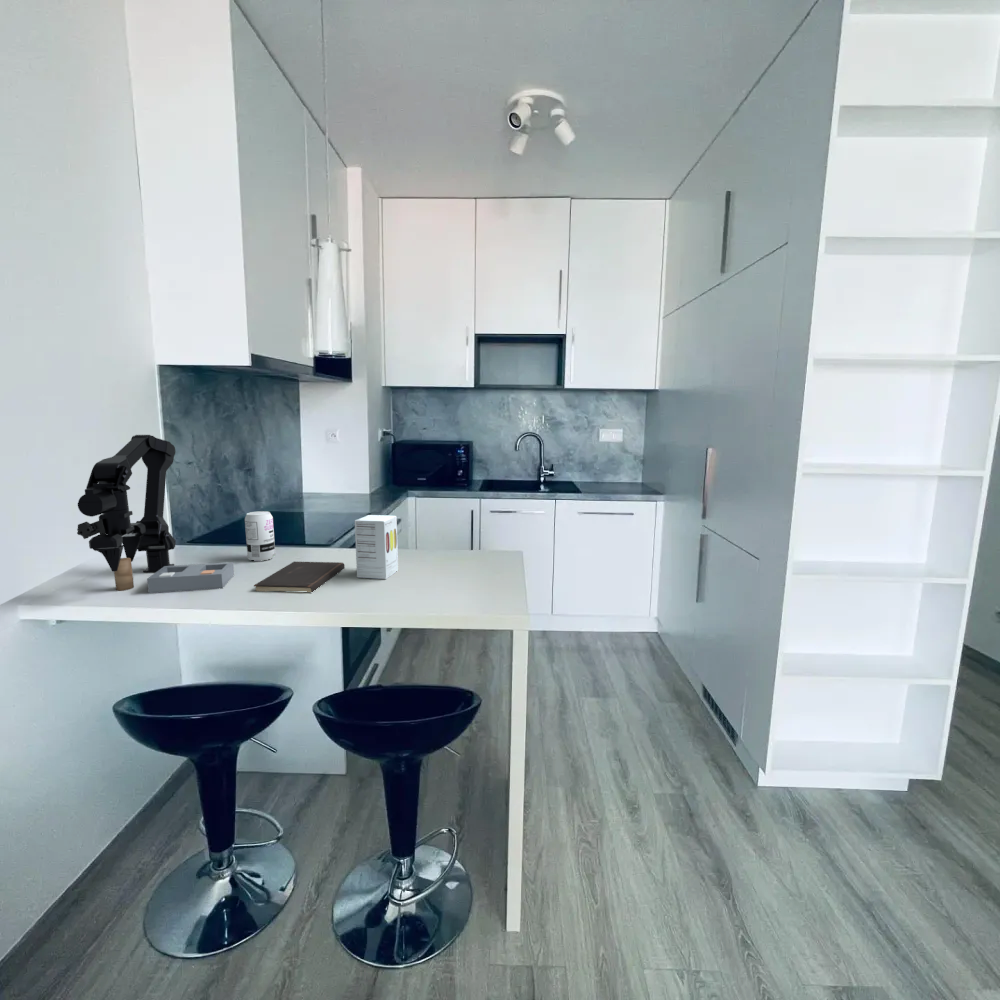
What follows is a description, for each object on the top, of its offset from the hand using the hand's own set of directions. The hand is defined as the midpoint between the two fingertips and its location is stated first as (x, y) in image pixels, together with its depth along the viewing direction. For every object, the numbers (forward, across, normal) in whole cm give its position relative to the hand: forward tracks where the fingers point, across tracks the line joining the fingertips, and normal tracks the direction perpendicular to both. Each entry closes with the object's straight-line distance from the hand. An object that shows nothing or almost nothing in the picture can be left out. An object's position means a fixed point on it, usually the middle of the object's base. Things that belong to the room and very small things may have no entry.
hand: (122, 566), depth 147 cm
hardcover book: (+7, +2, +46) cm, 46 cm away
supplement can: (+6, -24, +30) cm, 39 cm away
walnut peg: (+6, 0, 0) cm, 6 cm away
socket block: (+6, 0, +17) cm, 18 cm away
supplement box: (+6, +2, +67) cm, 67 cm away
